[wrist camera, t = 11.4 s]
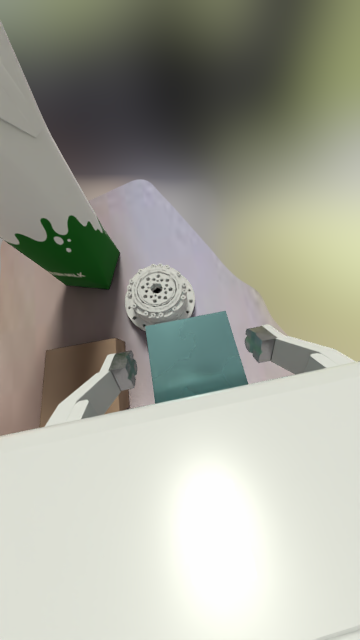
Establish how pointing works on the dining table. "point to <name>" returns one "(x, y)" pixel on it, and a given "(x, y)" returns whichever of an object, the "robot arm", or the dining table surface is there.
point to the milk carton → (44, 191)
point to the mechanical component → (158, 296)
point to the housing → (193, 357)
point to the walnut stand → (76, 373)
